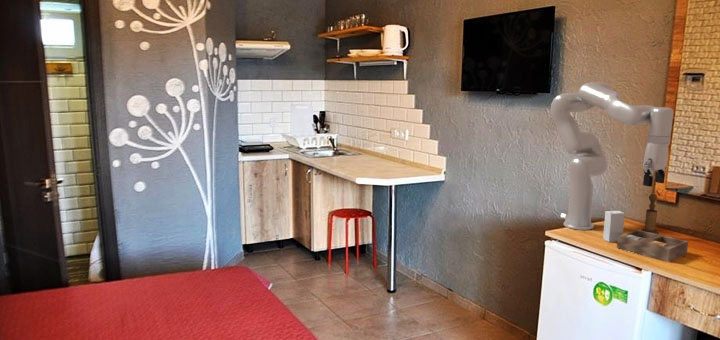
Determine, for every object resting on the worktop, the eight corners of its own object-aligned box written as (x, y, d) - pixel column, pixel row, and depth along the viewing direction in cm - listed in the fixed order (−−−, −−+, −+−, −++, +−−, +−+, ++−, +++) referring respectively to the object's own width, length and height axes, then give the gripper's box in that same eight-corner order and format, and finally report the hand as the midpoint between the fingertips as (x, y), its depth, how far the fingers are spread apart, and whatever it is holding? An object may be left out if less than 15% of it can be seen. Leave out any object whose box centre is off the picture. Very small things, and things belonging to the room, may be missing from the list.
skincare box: (615, 238, 222) (618, 210, 220) (622, 241, 217) (625, 212, 215) (602, 239, 221) (604, 210, 219) (608, 242, 216) (611, 213, 214)
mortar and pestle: (660, 239, 221) (664, 196, 218) (643, 238, 222) (647, 195, 219) (654, 234, 227) (659, 192, 224) (638, 233, 229) (642, 192, 226)
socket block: (616, 248, 209) (618, 235, 208) (636, 241, 218) (637, 228, 217) (668, 262, 194) (669, 247, 193) (686, 254, 203) (688, 240, 202)
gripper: (658, 137, 212) (653, 179, 215) (637, 140, 202) (632, 185, 205) (679, 139, 206) (673, 183, 210) (658, 143, 196) (653, 189, 199)
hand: (653, 184), depth 207 cm, fingers open, 9 cm apart
